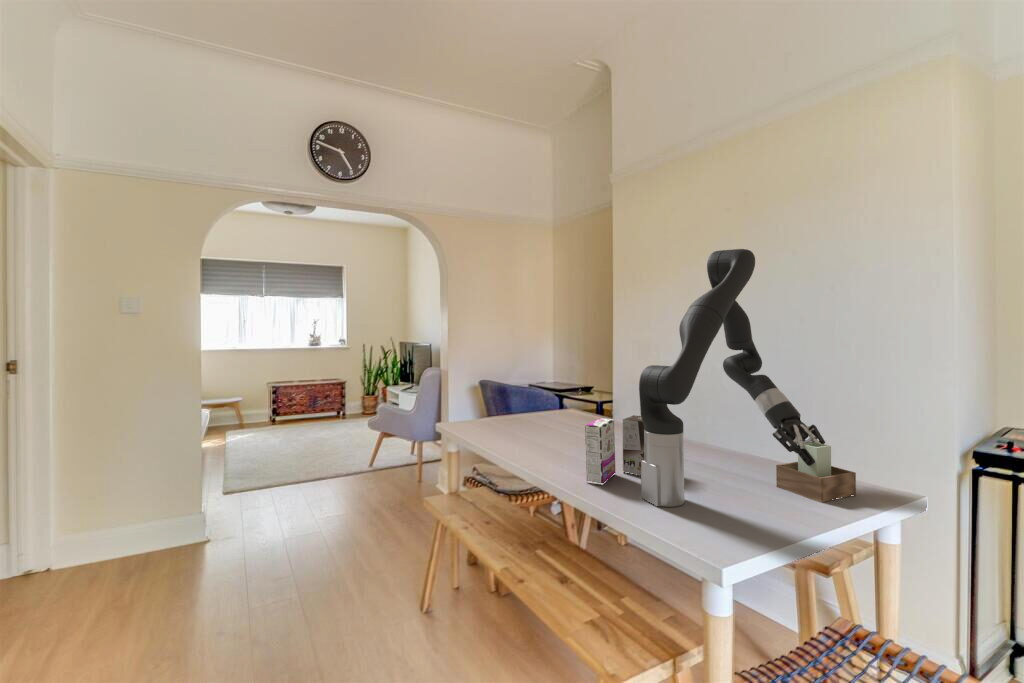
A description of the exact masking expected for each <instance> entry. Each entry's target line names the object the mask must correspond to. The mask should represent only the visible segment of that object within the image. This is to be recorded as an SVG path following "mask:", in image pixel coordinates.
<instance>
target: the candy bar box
mask: <svg viewBox="0 0 1024 683" xmlns="http://www.w3.org/2000/svg"><path fill="white" fill-rule="evenodd" d="M584 428H585V429H584V430H585V431H584V432H585V455H586V456H585V460H586V461H585V464H586V482H587V481H592V482H597V483H604V482H605V481H606V480H607V479H609V478H610V477H611V476H612V475H613V474H614V473H616V450H615V449H616V446H615V442H616V441H615V440H616V439H615V438H616V437H615V419H613V418H605V417H604V418H603V417H602V418H600V417H599V418H597V419H595V420H593V421H591V422H589V423H587V424H585V425H584ZM609 480H610V479H609Z"/></svg>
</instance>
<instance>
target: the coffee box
mask: <svg viewBox="0 0 1024 683" xmlns="http://www.w3.org/2000/svg"><path fill="white" fill-rule="evenodd" d="M642 460H644V423H643V421H642V418H641V415H634V414H633V415H631V416H629V417H625V418H623V419H622V472H623V471H624V472H629V473H633V474H637V475H641V461H642ZM637 475H636V476H637Z"/></svg>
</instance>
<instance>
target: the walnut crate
mask: <svg viewBox="0 0 1024 683" xmlns="http://www.w3.org/2000/svg"><path fill="white" fill-rule="evenodd" d="M775 476H776V488H778V489H782V490H785V491H787V490H788V492H790V491H791V492H790V493H792V494H793V493H794V494H797V495H799V496H801V495H802V497H803V498H807V499H811V500H813V501H816V502H818V501H820V502H819V503H821V502H822V503H825V502H824V501H827V502H829V501H828V500H832V499H836V498H841V497H847V496H851V495H856V494H857V477H856V476H857V473H856V472H854V471H851V470H847V469H844V468H841V467H836V466H832V465H831V476H826V477H817V476H814V475H811V474H807V473H804V472H801V471H798V461H794V462H787V463H780V464H776V474H775ZM856 496H857V495H856ZM847 498H848V497H847ZM832 501H833V500H832Z"/></svg>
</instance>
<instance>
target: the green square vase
mask: <svg viewBox="0 0 1024 683" xmlns="http://www.w3.org/2000/svg"><path fill="white" fill-rule="evenodd" d="M803 446H804V447H805V448H804V449H806V450H807V451H808V453H809V454H810V455H811V456H812V458H813V459H814V460H815V463H814V464H812V465H811V466H808V465H807V464H806V463H805V462H804V461H803V460H802V458H801V457H800V456H799V455H798V454H797V462H798V471H801V472H804V473H807V474H811V475H814V476H817V477H826V476H831V466H832V446H831V445H828V444H826V443H825V444H820V443H815V442H812V441H810V442H804V443H803Z"/></svg>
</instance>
